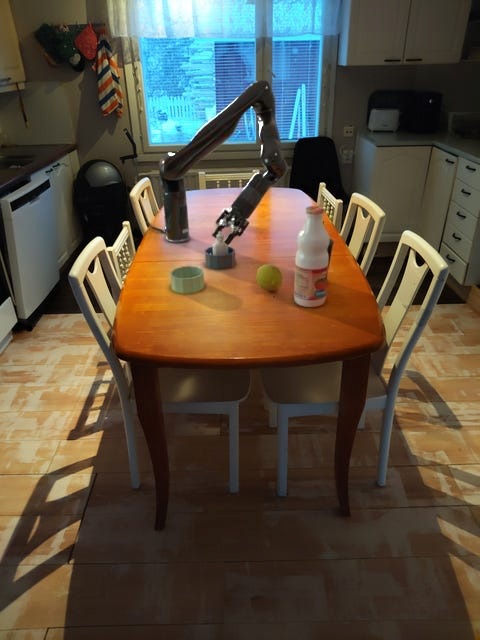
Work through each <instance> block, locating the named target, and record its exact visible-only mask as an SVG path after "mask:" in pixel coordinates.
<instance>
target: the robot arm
mask: <svg viewBox="0 0 480 640" xmlns="http://www.w3.org/2000/svg"><path fill="white" fill-rule="evenodd" d="M250 109H252V111H253V112H254V114H255V116H256V119H257V120H258V124H259V131H258V135H259V142H260V146H261V150H260V160H261V163H262V166H263V167H264V168H265V169H266V172H265V173H264V174H262V173H260V172H257V173H255V174H254V175H253V176H252V177H251V178H250V180H248V181H249V182H248V183H247V184H246V186H245V187H243V189H242V190H241V191H240V193H239V194H238V196H237V197H236V198H235V200H234V201H233V202H232V203H231V205H230V208H232V210H231V211H230V212H228V211H227V210H224V212H223V213H222V212H221V214H220V216H219V217H218V218H217V219H216V221H215V224H216V228H214V230H213V231H212V233H211V236H212V237H213V238H215V239H217V238H216V235H218V233H219V231H221V233H222V232H223V230H224V229H226V228H229V227H230V232H228V234H227V236H226V237H225V238H224V242H225V243H226V244H227V245H228V246H229V245H230V244H231V243H232V242H233V240H234V239H235V238H236V237H242V235H243V234H244V232H245V231H246V229H247V228H248V226H249V225H250V221H249V219H250V217H251V216H252V214H253V213H254V212H255V210H256V209H257V208H258V206H259V205H260V203H261V201H262V200H263V198H264V197H265V196H266V194H267V192H268V191H269V190H270V189H271V188H272V187H273V186H275V185H276V184H277V183H278V182H280V180H281V179H283V178H284V177H285V175H286V174H287V172H288V168H289V167H288V163H287V162H288V161H286V159H285V158H284V156H283V154H282V153H281V149H282V142H281V137H280V132H279V128H278V125H277V119H276V97H275V94H274V92H273V89H272V86H271V83H270V82H269V81H268V80H266V79H259V80H256V81H254V82H253V83H251V84H250V85H249V86H248V87H247V88H246V89H244V91H242V92H241V94H239V96H237V98H236V99H234V100H233V101H232V102H231V103H230V104H228V106H227V107H225V108H224V109H223V110H222V111H220V112H219V113H218V114H217V115H216V116H214V117H213V118H211V119H210V120H208V122H206V123H205V124H204V125H203V126H201V128H200V129H199V130H198V131H197V132H196V134H195V135H194V136H193V138H192V139H191V140H190V141H189V142H188V143H187V144H186V145H185V146H184V147H183V148H181V149H180V150H178V151H177V152H175V153H172V152H168V153H165V154H163V155H162V156H161V157H160V159H159V161H158V174H159V182H160V190H161V195H162V203H163V212H164V216H163V217H164V225H165V226H164V227H163V228H164V230H162V229H161V228H158V227H155V226H153V225H151V222H150V221H148V220H147V221H146V222H145V225H148V226H149V228H150V229H153V230H156V231H159V232H161V233H163V234H165V236H166V241H167V242H168V243H176V244H177V243H179V244H180V243H185V242H187V241H189V240H190V239H191V236H190V225H189V212H188V211H189V210H188V199H187V189H186V185H185V179H184V177H185V176H186V175H187V173H189V172H190V171H191V170H192V168H193V167H194V166H195V165H197V164H198V163H199V162H200V161H202V160H203V159H204V158H206V157H207V156H208V155H210V154H211V153H213V152H214V151H215V150H217V149H218V148H219V147H221V146H222V145H223V144H225V143H226V142H227V141H228V140H230V138H231V137H232V136H233V134H235V131H236V129H237V127H238V125H239V123H240V121H241V119H242V118H243V116H244V115H245V114H246V113H247V111H248V110H250ZM221 219H222V221H221V222H220V220H221ZM223 224H224V225H223ZM222 225H223V226H222Z"/></svg>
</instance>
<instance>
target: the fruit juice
mask: <svg viewBox="0 0 480 640" xmlns="http://www.w3.org/2000/svg"><path fill="white" fill-rule="evenodd" d="M324 214H325V208H324V207H323V206H319V205H310V206H307V207H306V208H305V216H306V219H305V222H304V225H303V227H302V228H301V229H300V230H299V232H298V233H297V236H296V246H297V251H296V253H295V260H294V263H295V264H294V288H293V299H294V302H295V304H296V305H299V306H302V307H306V308H315V307H319V306H320V307H321V306H322V305H324V304H325V302H326V300H327V299H326V298H327V288H328V287H327V286H328V273H329V269H328V263H329V255H328V252H327V248H328V246H329V242H330V239H331V237H330V234H329V233H328V231H327V230H326V228H325V224H324V225H323V221H324V220H323V215H324ZM329 264H330V263H329Z"/></svg>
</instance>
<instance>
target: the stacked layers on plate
mask: <svg viewBox="0 0 480 640" xmlns="http://www.w3.org/2000/svg"><path fill="white" fill-rule="evenodd" d="M224 210H227V211H228V212H230V211H231V210H232V208H231V207H228V208H227V207H226V208H222V209H221V214H222V213H223V212H224ZM221 221H222V219H221V220H220V222H221ZM223 225H224V224H223ZM223 225H222V226H223Z"/></svg>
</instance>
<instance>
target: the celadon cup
mask: <svg viewBox="0 0 480 640" xmlns="http://www.w3.org/2000/svg"><path fill="white" fill-rule="evenodd" d="M169 273H170V284H171V290H172V291H173V292H175V293H177V294H183V295H185V294H195V293H199V292H201V291H202V290H203V289H205V272H204V269H203V268H201V267H199V266H195V265H184V266H179V267H175V268H173V269H172V270H171V271H170V272H169Z"/></svg>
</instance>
